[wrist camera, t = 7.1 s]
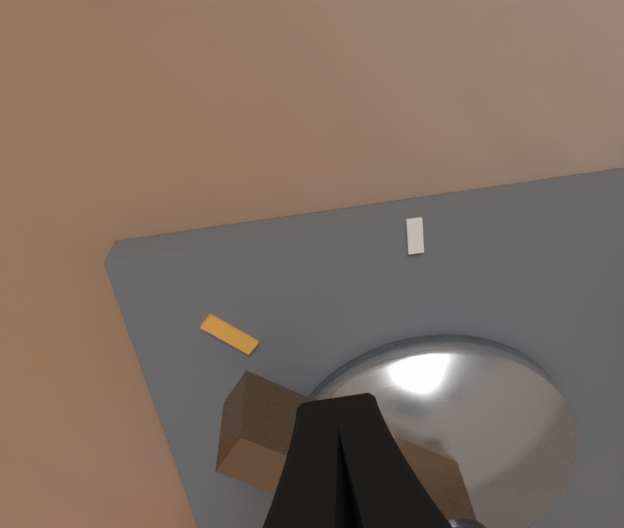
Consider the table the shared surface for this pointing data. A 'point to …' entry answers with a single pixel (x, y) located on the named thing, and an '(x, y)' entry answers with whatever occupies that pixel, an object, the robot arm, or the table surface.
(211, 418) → the dial panel
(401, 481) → the robot arm
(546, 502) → the dial
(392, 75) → the table surface
